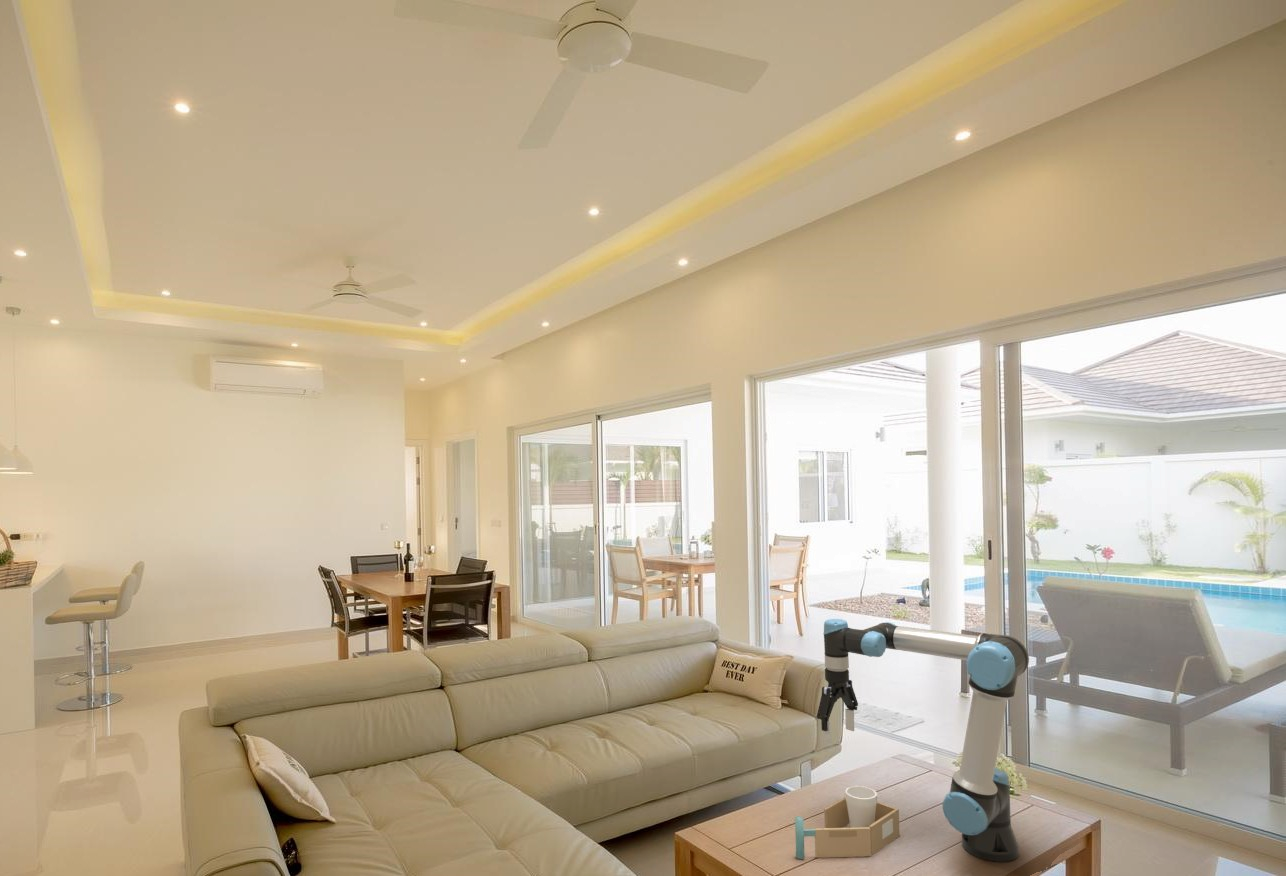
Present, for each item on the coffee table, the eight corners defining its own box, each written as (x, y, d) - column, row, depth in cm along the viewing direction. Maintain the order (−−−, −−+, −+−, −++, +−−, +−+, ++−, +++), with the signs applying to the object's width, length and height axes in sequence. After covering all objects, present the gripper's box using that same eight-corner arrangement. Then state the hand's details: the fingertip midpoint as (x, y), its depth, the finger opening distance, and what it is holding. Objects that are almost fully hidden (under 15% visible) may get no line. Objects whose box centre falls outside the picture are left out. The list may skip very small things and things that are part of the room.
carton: (899, 836, 222) (899, 809, 222) (872, 855, 211) (871, 827, 211) (853, 818, 234) (852, 792, 234) (824, 835, 223) (824, 808, 223)
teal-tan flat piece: (869, 853, 212) (868, 815, 212) (871, 857, 209) (870, 818, 210) (795, 855, 211) (794, 816, 212) (797, 859, 209) (796, 820, 209)
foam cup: (843, 839, 220) (841, 795, 221) (849, 825, 229) (848, 783, 229) (875, 846, 216) (874, 801, 217) (880, 832, 224) (879, 789, 225)
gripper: (847, 659, 246) (849, 723, 245) (804, 673, 229) (806, 742, 228) (867, 663, 240) (869, 728, 239) (824, 678, 224) (826, 748, 223)
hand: (838, 735), depth 234 cm, fingers open, 13 cm apart
